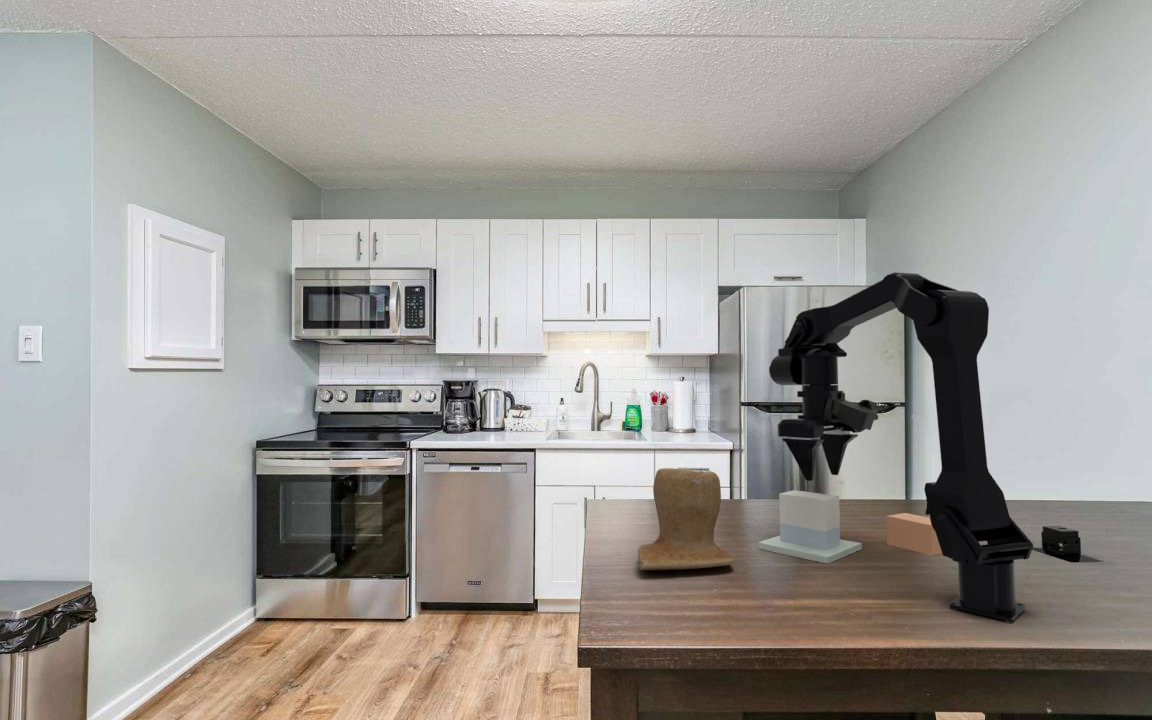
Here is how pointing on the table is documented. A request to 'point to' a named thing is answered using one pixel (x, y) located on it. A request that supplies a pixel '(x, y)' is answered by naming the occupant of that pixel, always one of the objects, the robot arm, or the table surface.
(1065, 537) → the black mechanical block
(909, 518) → the terracotta brick
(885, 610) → the table surface
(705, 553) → the brown upright flared piece
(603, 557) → the table surface
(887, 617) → the table surface
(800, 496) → the ivory brick
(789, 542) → the baseplate
